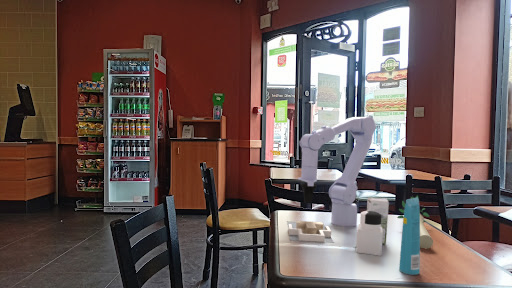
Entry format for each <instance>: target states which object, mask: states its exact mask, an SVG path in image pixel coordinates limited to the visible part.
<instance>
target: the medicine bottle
mask: <svg viewBox="0 0 512 288" xmlns="http://www.w3.org/2000/svg"><path fill="white" fill-rule="evenodd" d="M359 220H360V221H359V222H360V223H359V224H358V225H357V226H358V227H357V232H356V233H357V234H356V250H355V252H356V253H358V254H366V255H373V256H374V255H375V256H380V257H381V256H382V251H383V244H382V236H383V228H382V227H381V214H380V213H378V212H374V211H367V210H364V211H361V212H360V219H359Z"/></svg>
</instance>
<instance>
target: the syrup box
mask: <svg viewBox="0 0 512 288" xmlns="http://www.w3.org/2000/svg"><path fill="white" fill-rule="evenodd" d="M366 201H367V203H366V204H367V205H366V211H374V212H378V213H380V214H381V227H382V228H383V236H382V245H383V244H384V245H386V244H387V234H388V219H389V218H388V217H389V205H390V202H389V200H388V199H387V198H384V197H370V196H369V197H367V200H366Z"/></svg>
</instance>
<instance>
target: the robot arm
mask: <svg viewBox="0 0 512 288" xmlns="http://www.w3.org/2000/svg"><path fill="white" fill-rule="evenodd" d="M320 127H321V128H319V129H317V130H313V131H311V133H305V134H304V135H302V137H301V138H300V140H299V147H300V148H301V174H300V177H297V180H298V181H301V183H300V186H301V188H302V192H303V200H304V204H312V200H313V196H314V192H315V190H316V189H317V186H318V185H317V184H316V182H317V181H318V178H317V177H318V161H319V160H318V159H319V158H318V156H319V150H320V149H321V147H322V146H323V145H325V144H327V143H329V142H331V141H334V139H335V137H336V136H337V135H339V134H343V133H345V132H347V131H349V133H350V134H351V135H352V138H354V140H355V145H354V147H353V150H352V152H351V153H350V156H349V158H348V159H347V160H348V161H347V162H346V165H345V167H344V169H343V171H342V174H341V176H340V177H338V178H337V179H335V180H334V183H332V185H331V186H330V187H329V189H328V196H329V198H330V200H331V222H330V223H331V224H332V225H334V226H341V227H343V226H344V227H349V226H350V227H357V226H358V225H357V222H358V207H357V204H356V203H353V202H354V201H355V200H356V197H357V191H358V186H357V184H356V179H357V177H358V175H359V172H360V171H361V168H362V166H363V163H364V161H365V159H366V157H367V154H368V152H369V150H370V148H371V145H372V142H373V135H374V133H375V131H376V128H377V126H376V122H375V120H374V118H373V117H372V116H357V117H356V116H352V117H348V118H346V119H345V120H343V121H341V122H339V123H337V124H336V125H333V126H327V125H322V126H320ZM302 182H303V183H302ZM304 182H305V183H304Z"/></svg>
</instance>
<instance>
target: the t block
mask: <svg viewBox="0 0 512 288" xmlns="http://www.w3.org/2000/svg"><path fill="white" fill-rule="evenodd" d="M295 222H296V229H301V230H302V233H304V234H319V230H323V224H324V223H323V222H322V221H307V220H306V221H305V220H304V221H303V220H296V221H295Z"/></svg>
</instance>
